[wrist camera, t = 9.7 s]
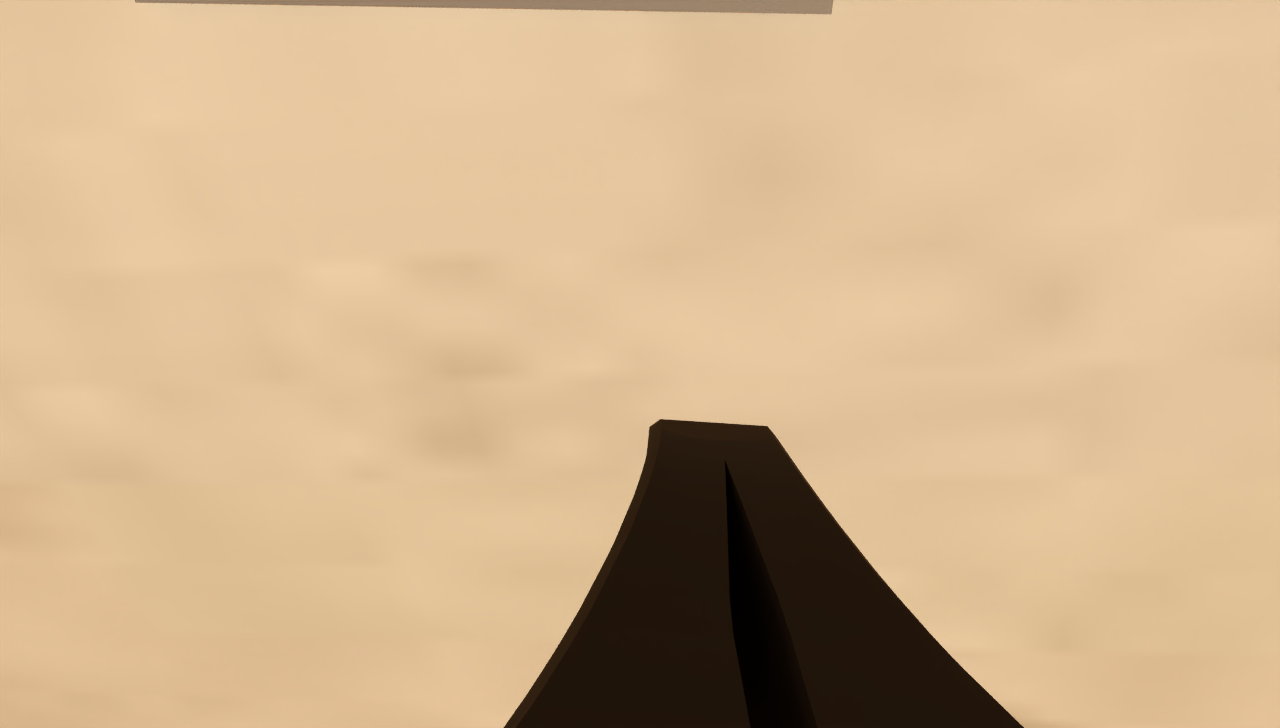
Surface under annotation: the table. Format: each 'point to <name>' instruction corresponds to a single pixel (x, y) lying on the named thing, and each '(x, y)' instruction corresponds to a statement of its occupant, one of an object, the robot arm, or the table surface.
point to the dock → (565, 4)
